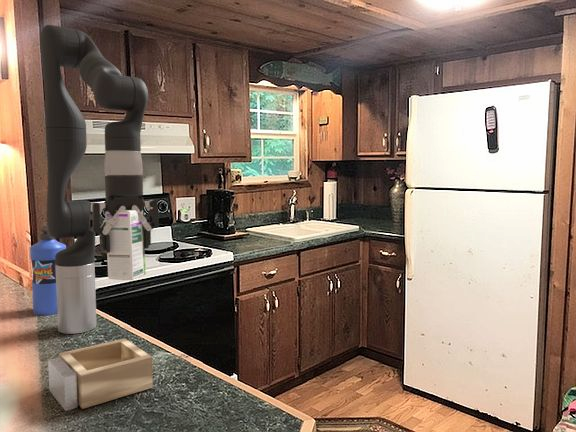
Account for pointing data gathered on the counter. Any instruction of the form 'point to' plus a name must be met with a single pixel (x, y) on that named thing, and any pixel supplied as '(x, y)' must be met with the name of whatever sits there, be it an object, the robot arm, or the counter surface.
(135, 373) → the open wooden box
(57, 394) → the backstop wall
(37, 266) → the water bottle
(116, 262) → the syrup box
